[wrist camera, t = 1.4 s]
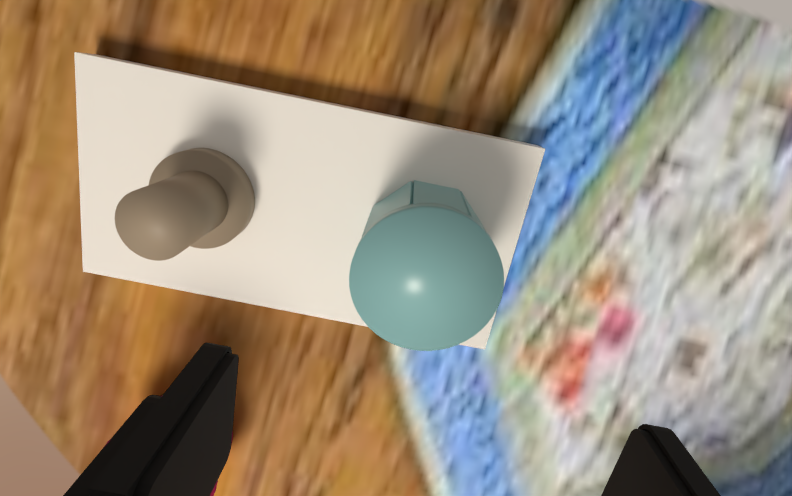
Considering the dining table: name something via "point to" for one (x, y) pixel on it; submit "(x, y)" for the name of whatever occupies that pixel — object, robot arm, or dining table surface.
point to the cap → (425, 269)
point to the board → (263, 185)
